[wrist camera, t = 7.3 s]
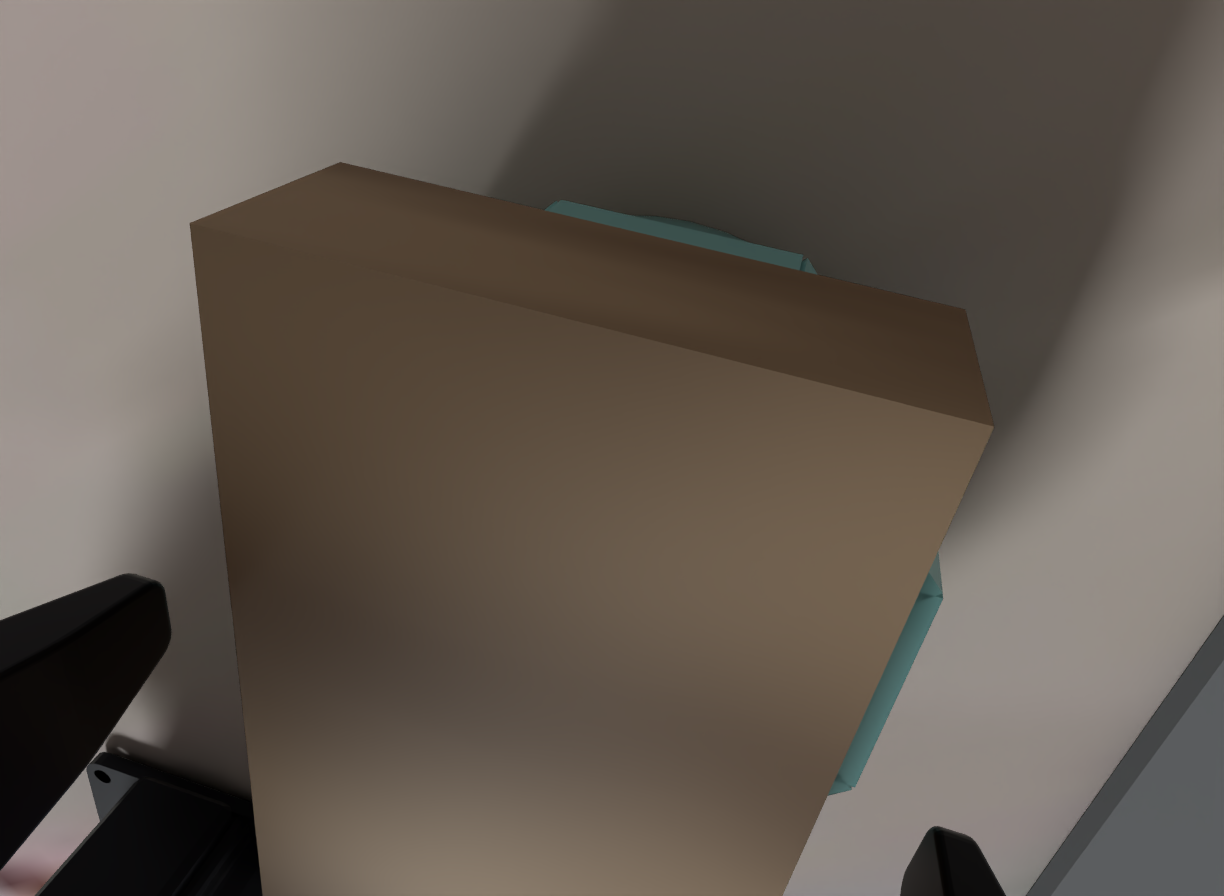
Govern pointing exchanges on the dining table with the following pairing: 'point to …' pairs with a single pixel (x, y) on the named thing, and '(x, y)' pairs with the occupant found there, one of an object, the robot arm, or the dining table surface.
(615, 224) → the bowl
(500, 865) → the board
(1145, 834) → the mat
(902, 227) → the dining table surface
